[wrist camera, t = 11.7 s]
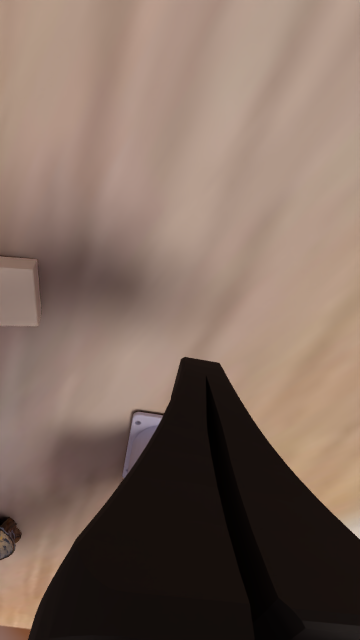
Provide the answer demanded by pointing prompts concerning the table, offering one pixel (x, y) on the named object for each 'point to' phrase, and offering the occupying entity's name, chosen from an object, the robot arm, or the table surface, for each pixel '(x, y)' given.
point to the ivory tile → (19, 292)
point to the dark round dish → (8, 538)
